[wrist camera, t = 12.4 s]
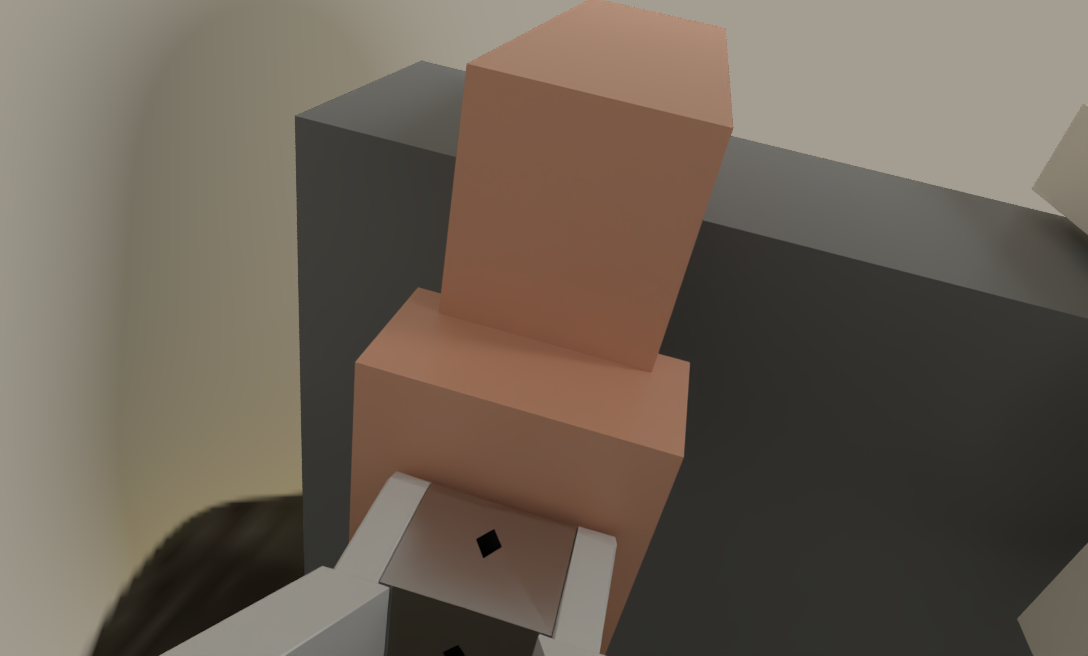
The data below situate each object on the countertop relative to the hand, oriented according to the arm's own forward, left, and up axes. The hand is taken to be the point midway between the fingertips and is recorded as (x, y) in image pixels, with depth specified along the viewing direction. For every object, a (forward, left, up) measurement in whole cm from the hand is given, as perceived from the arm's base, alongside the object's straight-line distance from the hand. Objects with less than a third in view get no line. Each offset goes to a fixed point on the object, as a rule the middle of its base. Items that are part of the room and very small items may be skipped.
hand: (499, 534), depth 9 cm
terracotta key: (-2, -5, -2) cm, 6 cm away
